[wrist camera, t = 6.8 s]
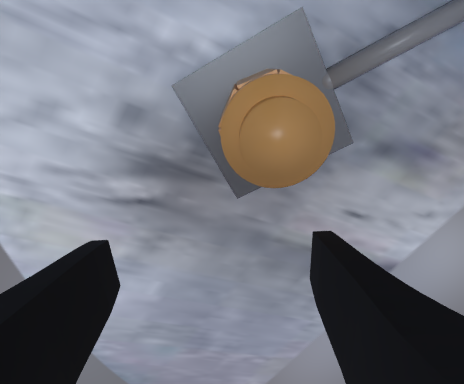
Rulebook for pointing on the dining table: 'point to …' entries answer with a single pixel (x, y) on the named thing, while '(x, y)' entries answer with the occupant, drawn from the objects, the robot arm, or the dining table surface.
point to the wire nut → (276, 129)
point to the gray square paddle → (294, 73)
